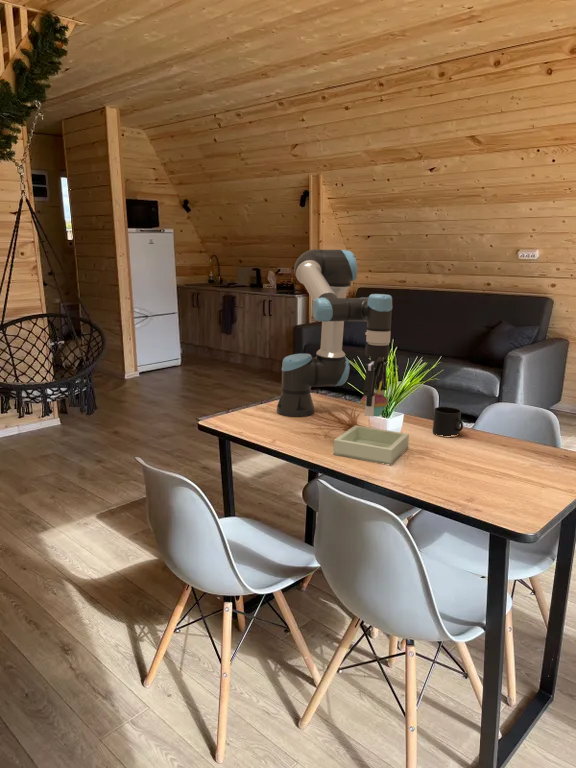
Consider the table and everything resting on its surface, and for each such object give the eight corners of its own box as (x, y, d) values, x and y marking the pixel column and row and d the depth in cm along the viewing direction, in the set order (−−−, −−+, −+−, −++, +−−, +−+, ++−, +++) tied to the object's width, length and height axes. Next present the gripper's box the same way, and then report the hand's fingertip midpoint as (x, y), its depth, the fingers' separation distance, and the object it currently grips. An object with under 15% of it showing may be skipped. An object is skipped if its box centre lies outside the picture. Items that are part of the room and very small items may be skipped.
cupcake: (386, 412, 201) (388, 376, 199) (387, 418, 193) (390, 382, 190) (360, 410, 202) (362, 375, 199) (360, 417, 194) (362, 380, 191)
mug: (452, 441, 213) (455, 416, 211) (427, 432, 223) (428, 408, 221) (470, 437, 218) (472, 413, 216) (444, 428, 228) (446, 405, 226)
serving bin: (354, 438, 213) (355, 425, 212) (408, 448, 204) (409, 434, 203) (333, 454, 196) (334, 439, 195) (390, 465, 188) (391, 450, 187)
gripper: (377, 338, 203) (373, 404, 208) (354, 346, 185) (351, 418, 190) (399, 340, 200) (394, 407, 205) (378, 349, 181) (374, 421, 186)
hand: (373, 412), depth 197 cm, fingers closed on cupcake, 8 cm apart
